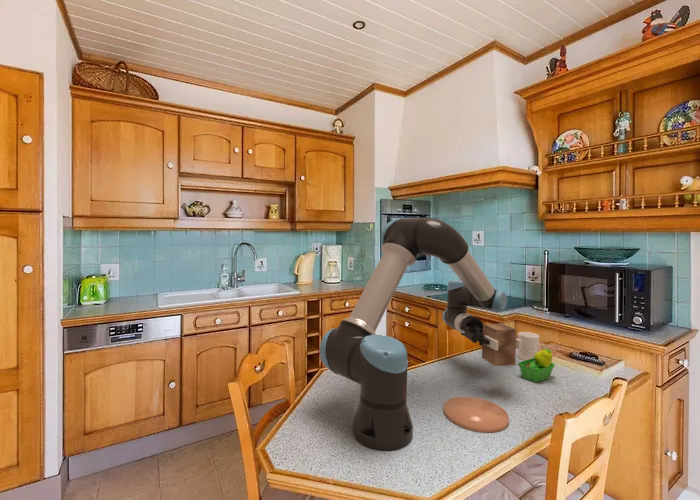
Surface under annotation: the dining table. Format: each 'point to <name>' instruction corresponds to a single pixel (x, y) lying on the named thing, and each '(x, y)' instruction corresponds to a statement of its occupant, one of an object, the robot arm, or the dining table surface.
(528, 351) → the white cup
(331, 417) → the dining table surface
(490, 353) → the walnut block
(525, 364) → the fruit basket
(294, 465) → the dining table surface
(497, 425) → the dish
